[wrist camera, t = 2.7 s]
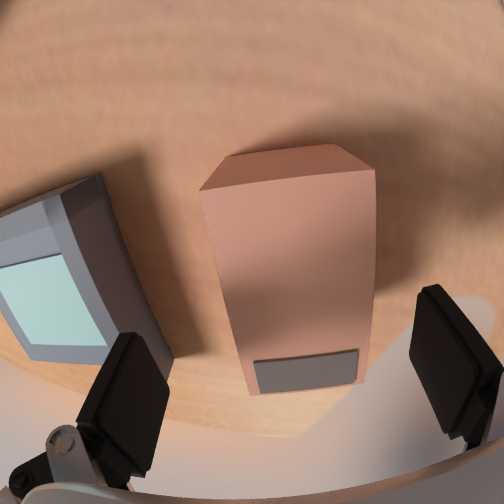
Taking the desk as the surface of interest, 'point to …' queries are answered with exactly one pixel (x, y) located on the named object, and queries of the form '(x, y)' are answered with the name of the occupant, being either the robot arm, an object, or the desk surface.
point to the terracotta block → (295, 264)
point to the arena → (72, 278)
